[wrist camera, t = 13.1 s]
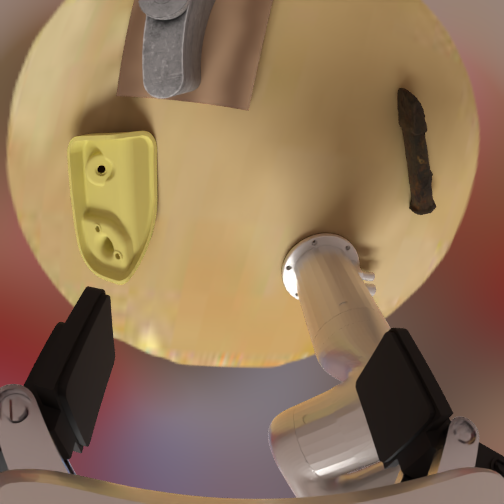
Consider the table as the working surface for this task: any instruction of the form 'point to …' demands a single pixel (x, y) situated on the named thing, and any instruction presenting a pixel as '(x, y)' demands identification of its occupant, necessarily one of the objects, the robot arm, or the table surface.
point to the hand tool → (416, 152)
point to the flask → (173, 45)
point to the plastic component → (113, 200)
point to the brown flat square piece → (209, 54)
